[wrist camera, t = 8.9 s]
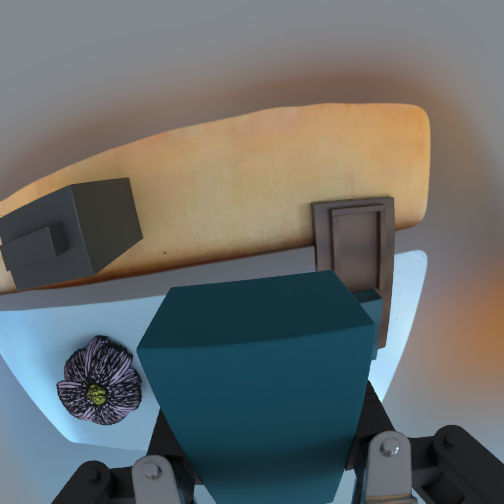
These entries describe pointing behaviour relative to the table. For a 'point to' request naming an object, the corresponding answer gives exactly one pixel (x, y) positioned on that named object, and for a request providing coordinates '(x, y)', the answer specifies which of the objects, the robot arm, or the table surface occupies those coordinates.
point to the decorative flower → (100, 383)
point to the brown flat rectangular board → (359, 252)
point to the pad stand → (69, 233)
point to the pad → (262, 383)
